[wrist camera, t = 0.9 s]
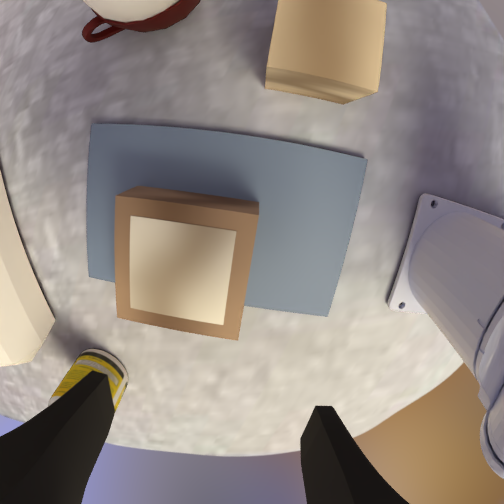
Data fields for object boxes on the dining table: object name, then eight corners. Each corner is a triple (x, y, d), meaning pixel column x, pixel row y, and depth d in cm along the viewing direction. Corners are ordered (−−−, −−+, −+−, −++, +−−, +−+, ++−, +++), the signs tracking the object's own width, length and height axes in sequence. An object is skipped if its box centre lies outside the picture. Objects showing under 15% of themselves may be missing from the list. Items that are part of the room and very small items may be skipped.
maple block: (352, 37, 14) (386, 3, 9) (342, 104, 15) (377, 92, 10) (276, 20, 14) (282, -23, 9) (264, 88, 15) (266, 66, 10)
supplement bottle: (73, 342, 22) (23, 411, 14) (122, 351, 22) (79, 432, 14) (88, 384, 23) (50, 452, 16) (134, 393, 23) (103, 470, 15)
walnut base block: (259, 202, 17) (258, 215, 14) (241, 312, 19) (237, 341, 17) (137, 185, 17) (115, 195, 14) (134, 293, 19) (117, 317, 16)
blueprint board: (364, 158, 16) (367, 159, 16) (326, 312, 20) (327, 316, 19) (95, 123, 16) (91, 123, 15) (92, 273, 19) (88, 276, 19)
